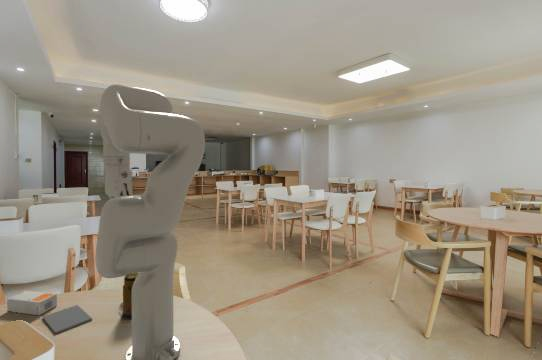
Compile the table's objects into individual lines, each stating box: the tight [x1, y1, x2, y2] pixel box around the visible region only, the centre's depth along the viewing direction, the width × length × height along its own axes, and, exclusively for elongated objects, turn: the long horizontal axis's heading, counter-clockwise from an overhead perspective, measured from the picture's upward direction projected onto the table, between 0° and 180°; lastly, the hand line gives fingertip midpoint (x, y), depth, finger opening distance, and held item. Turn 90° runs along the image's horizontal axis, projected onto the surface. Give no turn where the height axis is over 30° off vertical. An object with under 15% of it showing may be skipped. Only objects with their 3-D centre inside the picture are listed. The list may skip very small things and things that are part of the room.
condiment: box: [118, 273, 139, 323], centre depth 88 cm, size 7×8×12 cm
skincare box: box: [6, 290, 58, 316], centre depth 90 cm, size 6×4×12 cm
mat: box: [42, 304, 93, 335], centre depth 84 cm, size 12×9×1 cm
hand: (117, 217), depth 93 cm, fingers closed
